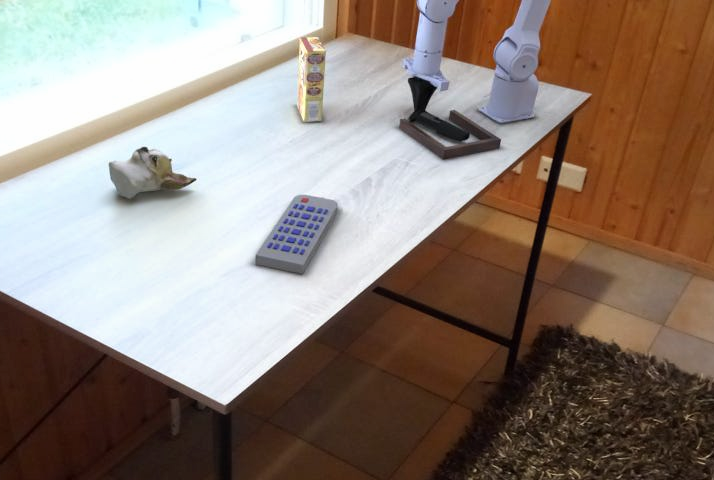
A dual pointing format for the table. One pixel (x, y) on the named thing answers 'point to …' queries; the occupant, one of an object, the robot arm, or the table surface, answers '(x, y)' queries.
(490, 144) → the dock
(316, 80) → the candy box
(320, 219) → the remote control
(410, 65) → the robot arm
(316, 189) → the table surface
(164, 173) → the ceramic sculpture
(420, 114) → the electric trimmer
